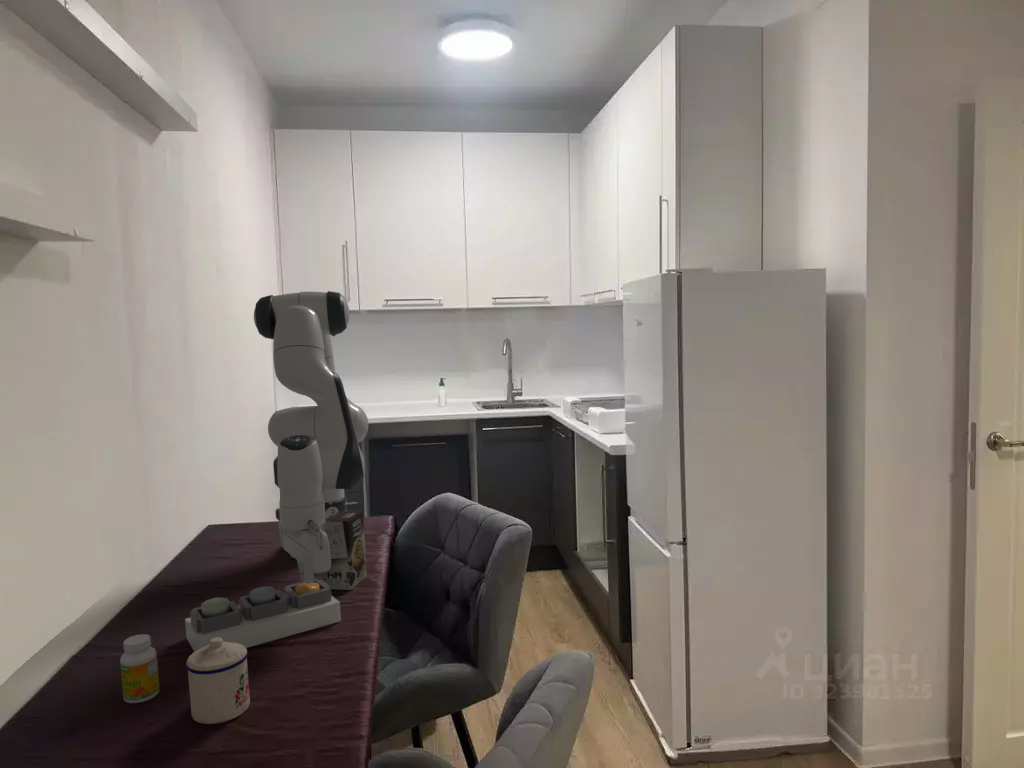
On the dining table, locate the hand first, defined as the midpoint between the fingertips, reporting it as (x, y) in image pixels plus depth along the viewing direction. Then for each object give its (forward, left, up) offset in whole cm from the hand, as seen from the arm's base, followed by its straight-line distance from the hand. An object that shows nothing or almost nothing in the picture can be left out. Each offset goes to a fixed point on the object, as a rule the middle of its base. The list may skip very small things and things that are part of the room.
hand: (307, 581), depth 149 cm
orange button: (0, 0, -3) cm, 3 cm away
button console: (0, -9, -8) cm, 12 cm away
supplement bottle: (+13, -33, -8) cm, 37 cm away
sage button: (0, -18, -2) cm, 18 cm away
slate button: (0, -9, -2) cm, 9 cm away
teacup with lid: (+25, -23, -8) cm, 35 cm away
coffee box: (-14, +14, -8) cm, 21 cm away
